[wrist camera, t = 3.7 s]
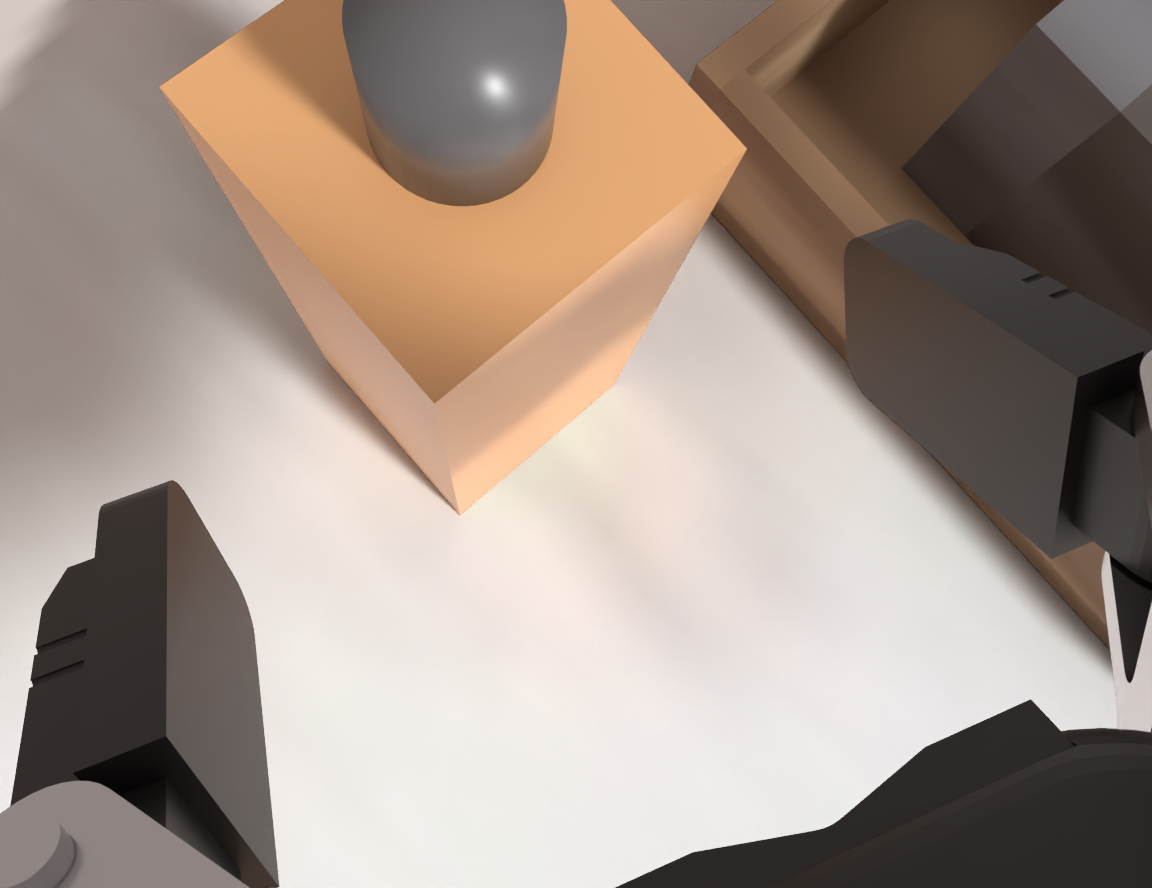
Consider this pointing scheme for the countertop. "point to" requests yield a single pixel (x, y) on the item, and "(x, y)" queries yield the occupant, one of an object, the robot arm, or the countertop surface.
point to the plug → (461, 203)
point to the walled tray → (847, 153)
